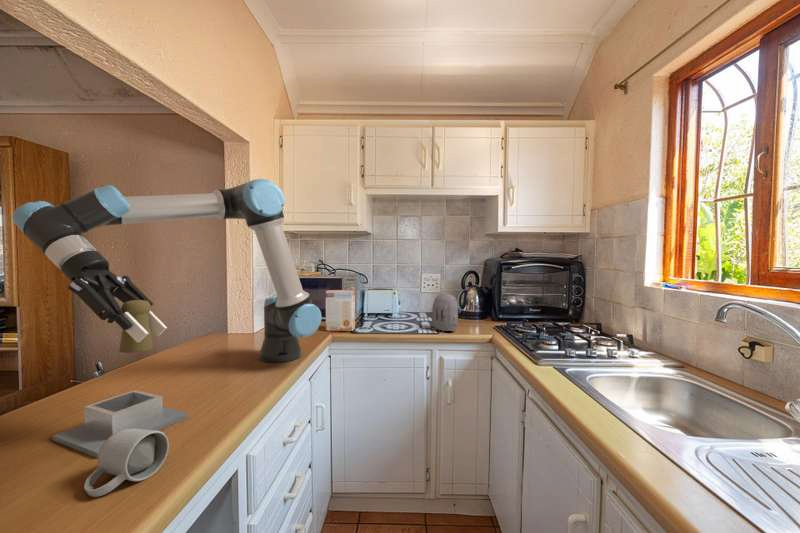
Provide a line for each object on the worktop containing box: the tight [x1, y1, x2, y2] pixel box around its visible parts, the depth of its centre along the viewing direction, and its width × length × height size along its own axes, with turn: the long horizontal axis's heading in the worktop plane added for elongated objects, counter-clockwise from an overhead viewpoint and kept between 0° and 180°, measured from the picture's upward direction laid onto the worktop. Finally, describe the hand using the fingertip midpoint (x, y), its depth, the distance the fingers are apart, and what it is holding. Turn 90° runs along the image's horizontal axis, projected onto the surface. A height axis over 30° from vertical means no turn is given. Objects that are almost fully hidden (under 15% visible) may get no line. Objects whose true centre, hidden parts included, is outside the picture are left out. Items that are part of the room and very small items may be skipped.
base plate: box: [52, 405, 189, 459], centre depth 76 cm, size 18×16×1 cm
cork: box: [118, 300, 154, 354], centre depth 77 cm, size 6×6×11 cm
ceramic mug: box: [83, 429, 170, 498], centre depth 59 cm, size 11×8×8 cm
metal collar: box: [83, 389, 164, 438], centre depth 76 cm, size 10×10×5 cm
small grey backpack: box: [431, 292, 459, 332], centre depth 176 cm, size 15×8×20 cm, turn 44°
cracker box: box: [325, 289, 356, 332], centre depth 176 cm, size 14×6×21 cm, turn 82°
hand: (152, 334), depth 77 cm, fingers closed on cork, 5 cm apart
